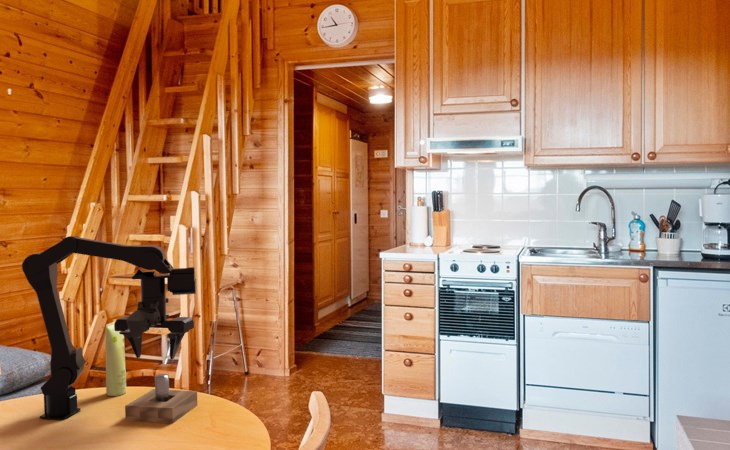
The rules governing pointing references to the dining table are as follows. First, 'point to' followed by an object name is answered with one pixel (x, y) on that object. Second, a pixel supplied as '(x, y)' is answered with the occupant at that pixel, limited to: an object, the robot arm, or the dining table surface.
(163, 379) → the pin
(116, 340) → the tube
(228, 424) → the dining table surface
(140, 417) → the bore block
